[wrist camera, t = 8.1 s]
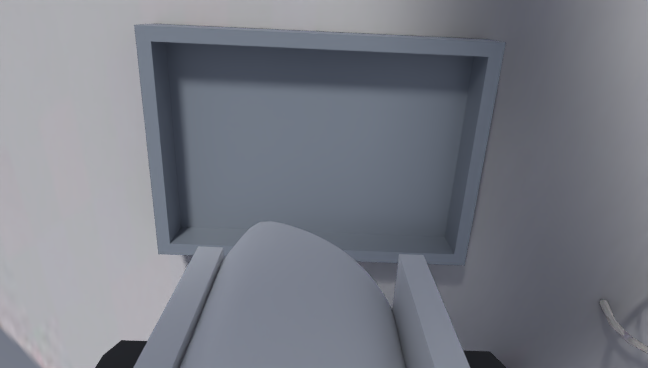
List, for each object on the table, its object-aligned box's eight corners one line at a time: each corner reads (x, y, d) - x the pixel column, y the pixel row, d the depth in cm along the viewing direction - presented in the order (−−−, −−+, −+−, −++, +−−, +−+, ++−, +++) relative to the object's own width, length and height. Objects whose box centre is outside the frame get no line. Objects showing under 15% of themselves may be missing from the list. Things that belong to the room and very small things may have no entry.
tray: (154, 23, 26) (134, 25, 23) (486, 39, 27) (505, 42, 24) (173, 232, 31) (158, 254, 29) (452, 243, 32) (464, 265, 29)
